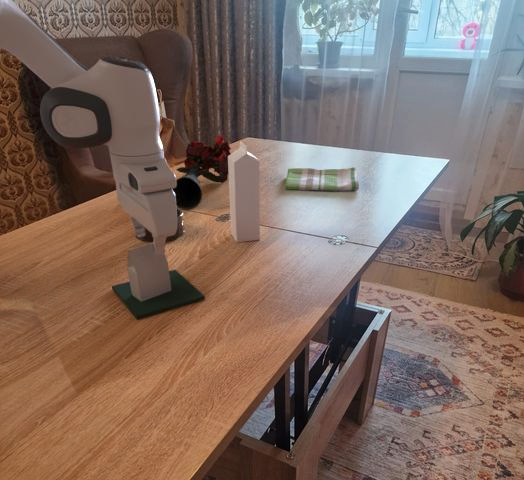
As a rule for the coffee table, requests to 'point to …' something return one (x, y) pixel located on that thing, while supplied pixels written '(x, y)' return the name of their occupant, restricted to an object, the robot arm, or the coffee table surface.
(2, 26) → the robot arm
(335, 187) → the dish towel
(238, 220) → the milk
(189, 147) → the black vase with roses
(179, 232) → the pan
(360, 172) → the coffee table surface
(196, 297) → the mat
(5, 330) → the coffee table surface
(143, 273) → the white box
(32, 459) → the coffee table surface
